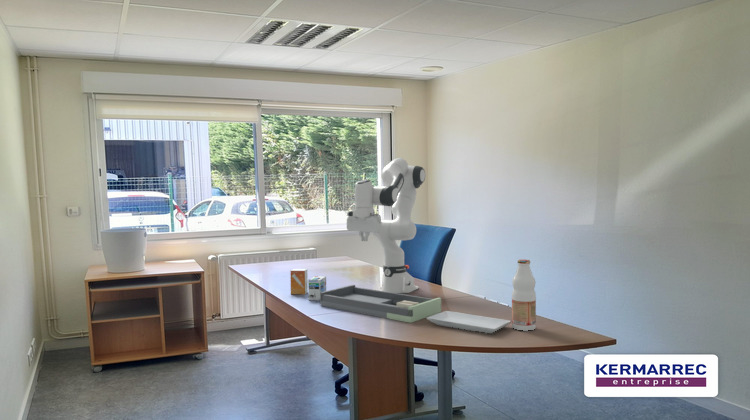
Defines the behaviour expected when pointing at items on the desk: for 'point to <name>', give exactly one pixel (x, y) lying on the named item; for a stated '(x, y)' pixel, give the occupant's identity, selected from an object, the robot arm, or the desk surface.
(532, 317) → the fruit juice
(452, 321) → the tray
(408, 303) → the block
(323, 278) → the light bulb box
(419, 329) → the desk surface
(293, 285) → the small box
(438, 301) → the tray
